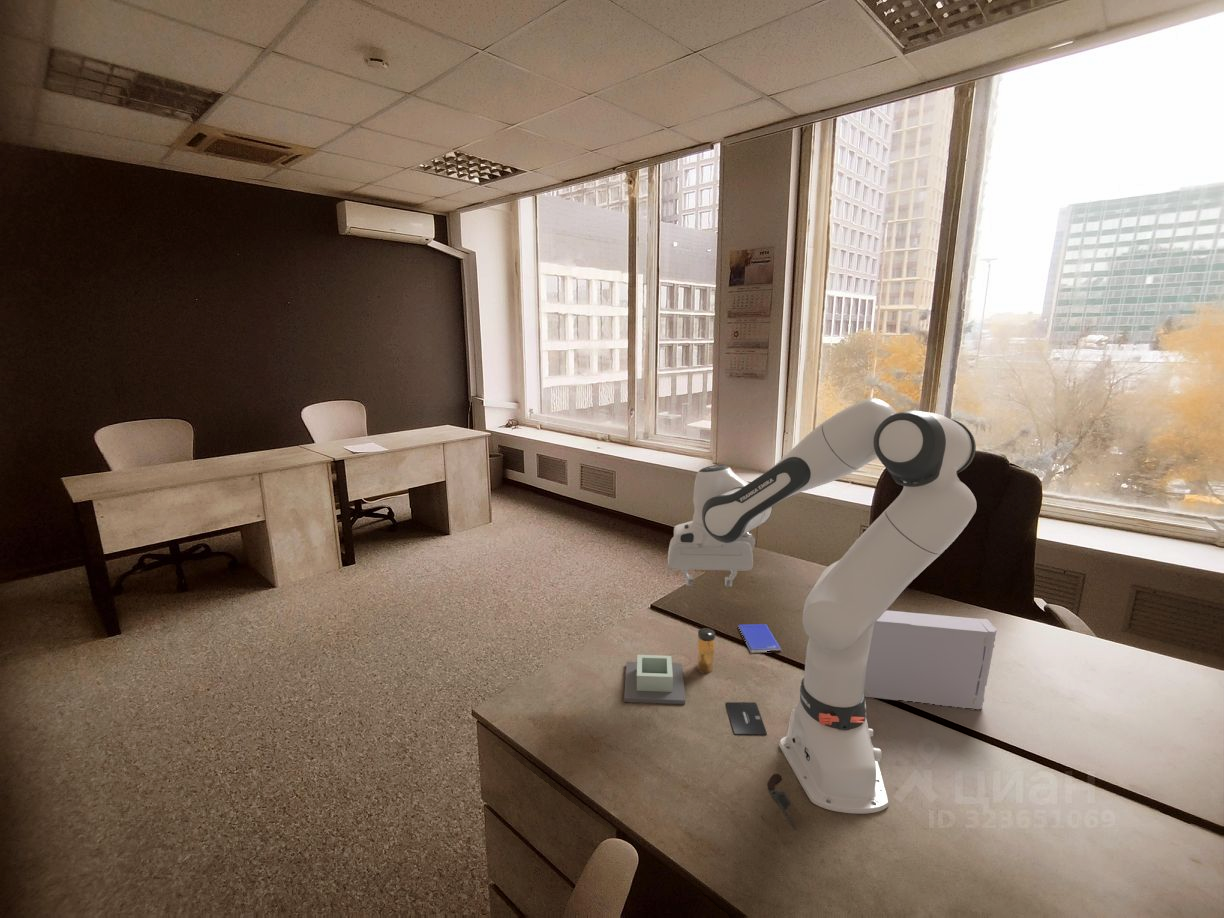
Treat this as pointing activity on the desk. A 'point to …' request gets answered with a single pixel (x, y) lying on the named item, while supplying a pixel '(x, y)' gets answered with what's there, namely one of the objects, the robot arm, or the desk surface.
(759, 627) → the hard drive
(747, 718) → the solid state drive
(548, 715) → the desk surface
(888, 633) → the game console
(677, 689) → the docking plate
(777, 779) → the dark curved piece
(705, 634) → the bottle
